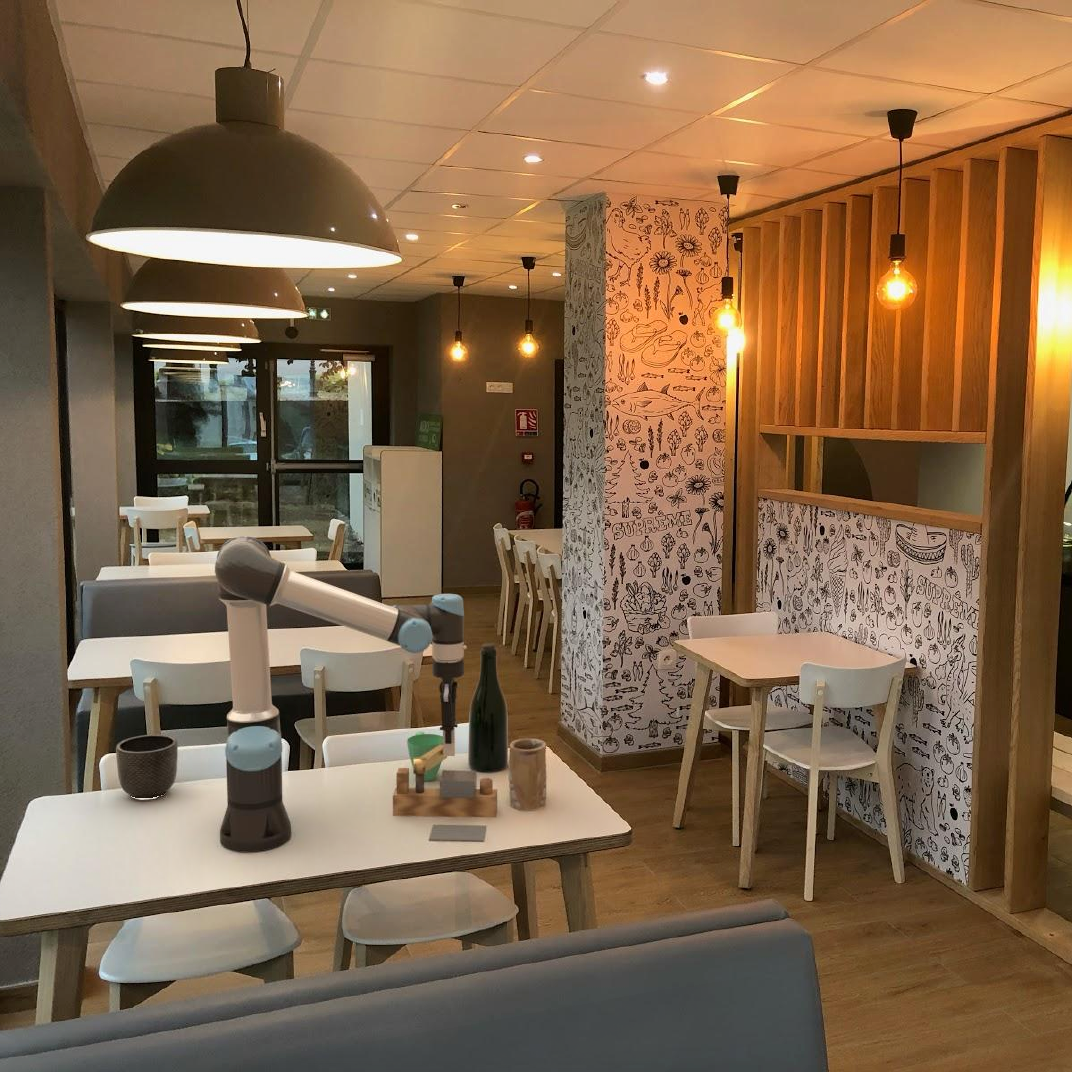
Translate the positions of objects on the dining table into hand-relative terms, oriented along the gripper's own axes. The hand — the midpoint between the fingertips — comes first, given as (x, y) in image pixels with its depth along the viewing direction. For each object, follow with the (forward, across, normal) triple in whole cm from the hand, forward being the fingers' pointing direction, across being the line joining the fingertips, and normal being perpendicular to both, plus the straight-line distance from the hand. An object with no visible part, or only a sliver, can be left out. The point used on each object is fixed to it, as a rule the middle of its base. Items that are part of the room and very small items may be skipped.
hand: (448, 755), depth 249 cm
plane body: (+11, -8, 0) cm, 14 cm away
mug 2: (+11, 0, -18) cm, 21 cm away
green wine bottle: (+11, +24, -8) cm, 27 cm away
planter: (+11, -1, +73) cm, 74 cm away
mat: (+11, -20, -4) cm, 23 cm away
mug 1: (+11, +17, +8) cm, 22 cm away
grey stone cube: (+6, -8, -3) cm, 11 cm away
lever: (+1, -3, +4) cm, 5 cm away
